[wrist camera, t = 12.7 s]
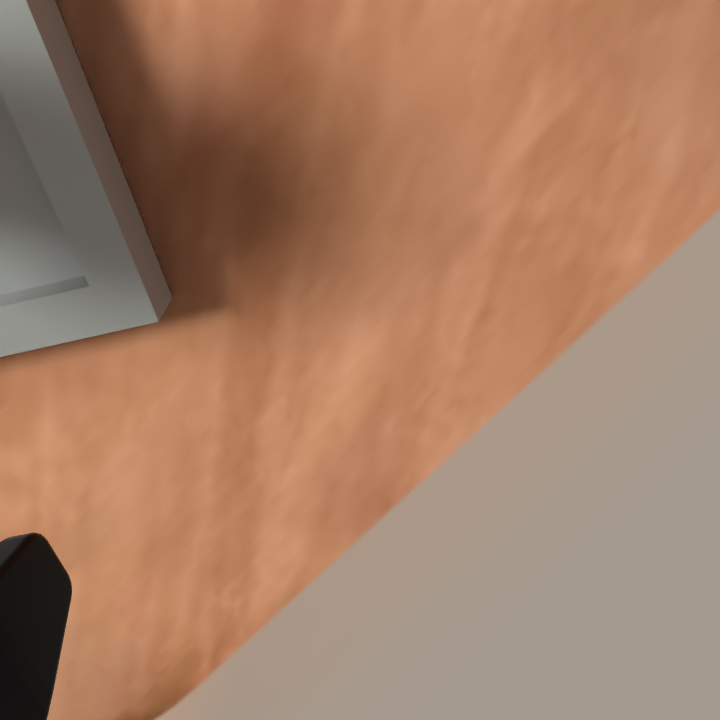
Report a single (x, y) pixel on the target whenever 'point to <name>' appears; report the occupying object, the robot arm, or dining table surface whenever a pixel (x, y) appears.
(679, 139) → the dining table surface
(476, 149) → the dining table surface
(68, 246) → the tray
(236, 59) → the dining table surface
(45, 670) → the robot arm
